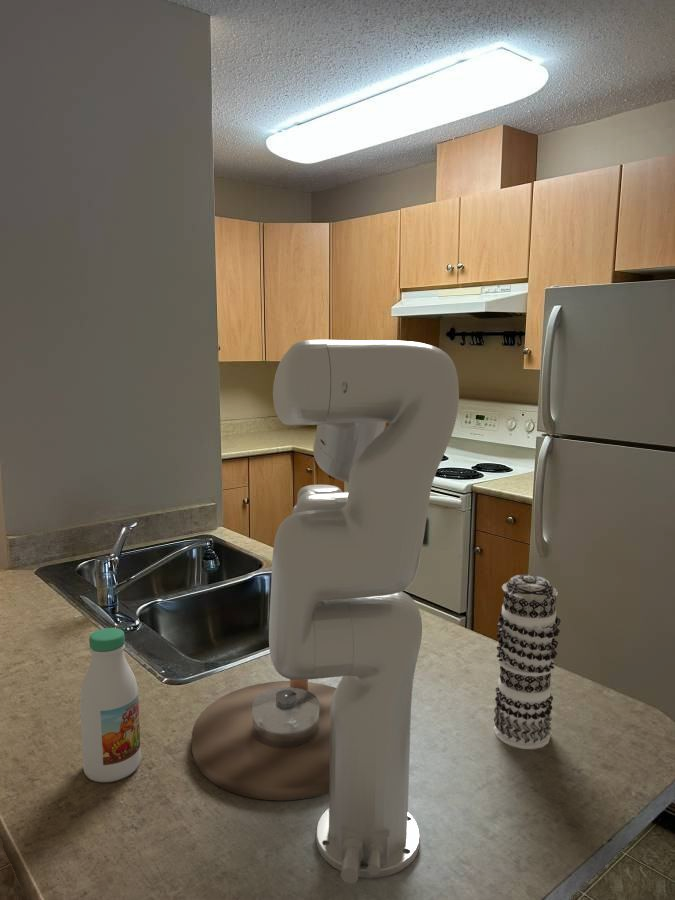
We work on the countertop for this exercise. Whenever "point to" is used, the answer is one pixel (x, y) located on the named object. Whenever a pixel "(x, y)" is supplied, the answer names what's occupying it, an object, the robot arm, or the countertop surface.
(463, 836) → the countertop surface
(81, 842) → the countertop surface
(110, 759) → the milk bottle
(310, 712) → the lid
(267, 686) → the turntable
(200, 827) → the countertop surface
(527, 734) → the decorative candle
